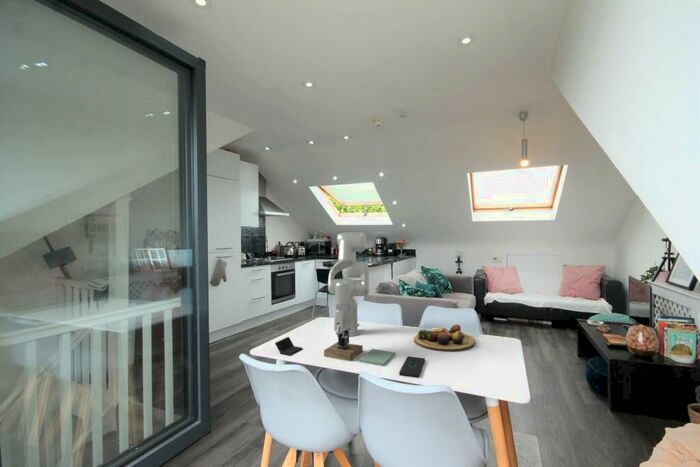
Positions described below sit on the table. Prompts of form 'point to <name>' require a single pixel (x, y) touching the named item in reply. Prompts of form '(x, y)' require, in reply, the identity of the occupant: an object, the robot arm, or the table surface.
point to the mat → (377, 357)
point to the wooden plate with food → (444, 339)
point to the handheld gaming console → (287, 347)
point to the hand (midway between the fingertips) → (343, 343)
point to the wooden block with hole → (343, 352)
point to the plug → (345, 342)
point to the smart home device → (412, 367)
